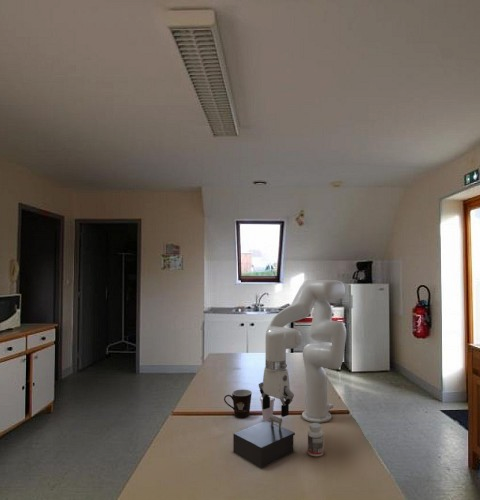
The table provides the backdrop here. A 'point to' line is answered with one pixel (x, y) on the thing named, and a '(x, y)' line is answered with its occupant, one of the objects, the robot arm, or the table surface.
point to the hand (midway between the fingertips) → (275, 412)
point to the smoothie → (267, 411)
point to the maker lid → (264, 433)
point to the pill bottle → (315, 440)
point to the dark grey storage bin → (263, 451)
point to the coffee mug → (240, 403)
